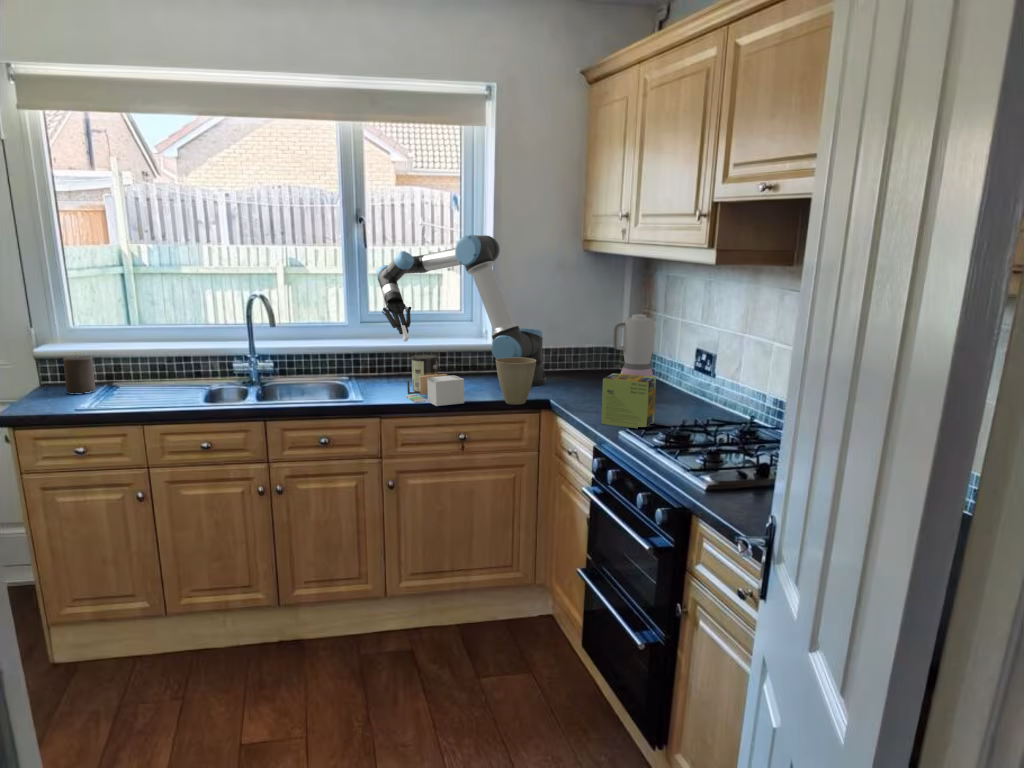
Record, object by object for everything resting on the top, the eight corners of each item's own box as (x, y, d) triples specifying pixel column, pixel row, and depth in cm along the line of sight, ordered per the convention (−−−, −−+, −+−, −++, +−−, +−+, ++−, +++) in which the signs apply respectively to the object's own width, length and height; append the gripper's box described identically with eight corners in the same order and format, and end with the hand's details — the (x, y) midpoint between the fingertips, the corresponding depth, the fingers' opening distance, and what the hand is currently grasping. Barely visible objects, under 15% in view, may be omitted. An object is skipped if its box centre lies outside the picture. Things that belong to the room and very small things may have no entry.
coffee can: (439, 388, 280) (439, 354, 278) (436, 394, 270) (436, 358, 267) (414, 388, 281) (413, 354, 278) (410, 394, 270) (409, 358, 268)
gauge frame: (444, 393, 272) (444, 370, 270) (464, 403, 256) (464, 379, 254) (405, 397, 265) (405, 374, 263) (423, 407, 249) (422, 382, 247)
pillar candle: (73, 396, 263) (68, 357, 260) (62, 392, 269) (58, 354, 266) (100, 392, 271) (96, 354, 268) (89, 388, 276) (85, 351, 273)
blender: (647, 395, 270) (650, 313, 264) (656, 402, 259) (661, 316, 252) (607, 396, 269) (610, 313, 262) (615, 403, 257) (618, 316, 250)
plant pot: (541, 405, 253) (542, 362, 250) (503, 408, 248) (503, 364, 245) (527, 396, 267) (527, 355, 264) (490, 399, 262) (490, 357, 259)
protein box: (647, 429, 221) (649, 382, 218) (600, 424, 227) (602, 377, 224) (654, 422, 230) (657, 376, 227) (610, 417, 237) (611, 372, 234)
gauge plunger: (445, 391, 271) (445, 373, 269) (453, 395, 264) (453, 377, 263) (407, 395, 264) (406, 377, 262) (414, 399, 257) (413, 380, 256)
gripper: (404, 301, 307) (419, 344, 296) (376, 302, 301) (389, 345, 290) (408, 290, 301) (423, 333, 290) (379, 291, 295) (393, 334, 284)
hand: (406, 339), depth 290 cm, fingers closed
